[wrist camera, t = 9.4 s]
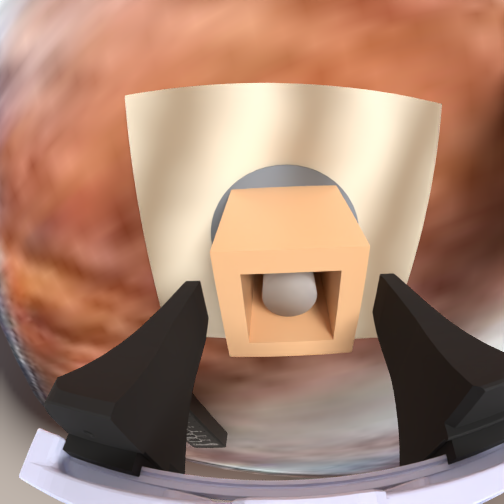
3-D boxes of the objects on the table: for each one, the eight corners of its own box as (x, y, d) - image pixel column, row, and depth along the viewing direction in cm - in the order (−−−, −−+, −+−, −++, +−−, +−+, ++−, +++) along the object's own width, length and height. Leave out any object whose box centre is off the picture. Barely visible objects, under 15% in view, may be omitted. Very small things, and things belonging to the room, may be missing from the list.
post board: (433, 102, 13) (501, 120, 8) (384, 327, 21) (405, 391, 16) (132, 94, 14) (67, 106, 8) (171, 324, 22) (149, 389, 17)
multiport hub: (169, 360, 25) (163, 381, 23) (228, 431, 32) (227, 448, 30) (131, 364, 26) (123, 383, 24) (196, 432, 33) (193, 448, 31)
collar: (336, 185, 15) (370, 246, 9) (331, 272, 17) (351, 352, 12) (231, 189, 15) (209, 252, 10) (241, 275, 18) (229, 356, 13)
